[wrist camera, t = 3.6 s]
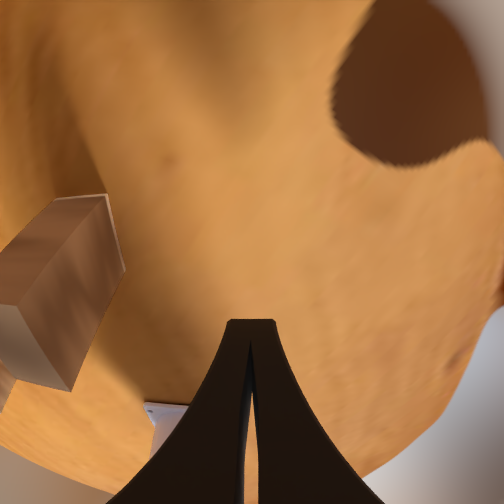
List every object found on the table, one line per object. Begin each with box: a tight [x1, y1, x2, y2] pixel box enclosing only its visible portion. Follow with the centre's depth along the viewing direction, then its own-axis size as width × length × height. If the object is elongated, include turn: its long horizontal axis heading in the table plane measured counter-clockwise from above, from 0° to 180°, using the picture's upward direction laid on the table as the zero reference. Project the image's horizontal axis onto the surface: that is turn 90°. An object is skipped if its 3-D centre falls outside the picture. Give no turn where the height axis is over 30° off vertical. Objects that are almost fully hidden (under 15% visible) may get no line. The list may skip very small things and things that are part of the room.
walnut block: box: [0, 193, 126, 392], centre depth 12 cm, size 4×3×8 cm
